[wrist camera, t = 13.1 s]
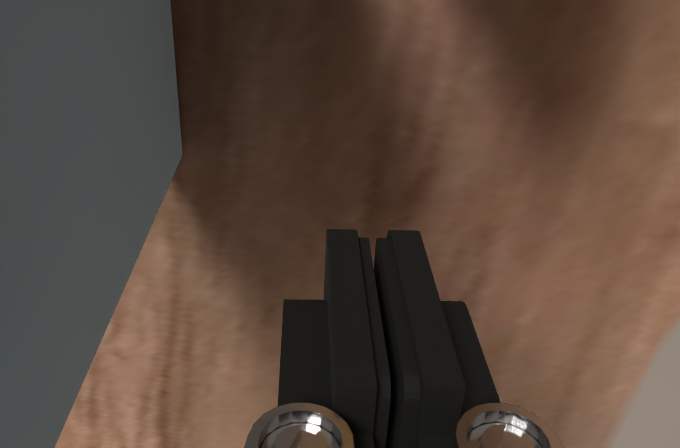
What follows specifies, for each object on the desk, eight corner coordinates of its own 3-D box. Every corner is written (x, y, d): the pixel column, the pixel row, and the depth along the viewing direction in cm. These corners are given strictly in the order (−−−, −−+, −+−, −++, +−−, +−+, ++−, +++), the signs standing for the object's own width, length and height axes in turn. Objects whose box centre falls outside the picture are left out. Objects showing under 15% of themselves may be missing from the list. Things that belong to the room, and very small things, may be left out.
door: (75, -220, 22) (-693, -526, 5) (156, -216, 22) (-325, -497, 5) (122, 152, 28) (-144, 559, 11) (185, 154, 28) (11, 557, 12)
